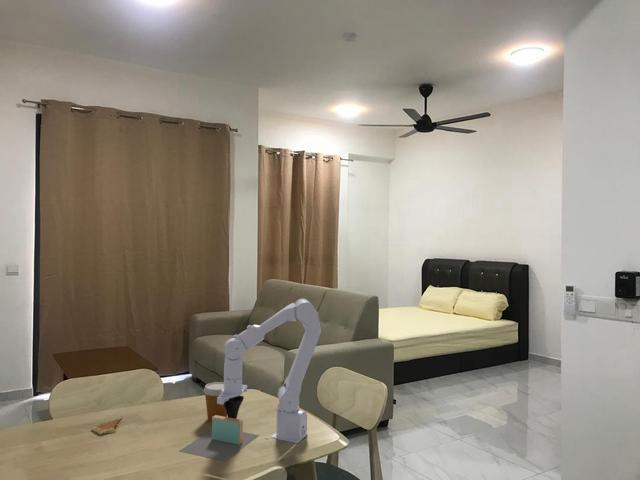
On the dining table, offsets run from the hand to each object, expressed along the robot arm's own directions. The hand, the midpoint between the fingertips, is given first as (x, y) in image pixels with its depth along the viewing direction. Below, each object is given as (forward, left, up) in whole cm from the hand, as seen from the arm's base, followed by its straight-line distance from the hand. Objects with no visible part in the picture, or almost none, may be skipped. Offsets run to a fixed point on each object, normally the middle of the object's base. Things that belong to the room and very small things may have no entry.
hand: (232, 420), depth 157 cm
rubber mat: (+1, +5, -6) cm, 8 cm away
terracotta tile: (0, +3, -6) cm, 6 cm away
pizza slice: (+42, +10, -7) cm, 44 cm away
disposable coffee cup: (+13, -11, -6) cm, 18 cm away
